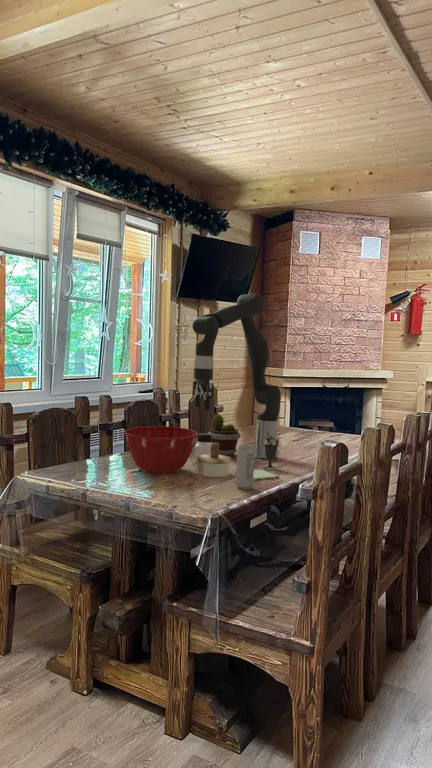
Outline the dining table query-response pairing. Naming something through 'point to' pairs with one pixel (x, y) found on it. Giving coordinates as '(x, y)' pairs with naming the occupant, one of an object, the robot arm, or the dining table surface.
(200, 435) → the medicine bottle
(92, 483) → the dining table surface
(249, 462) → the energy drink can
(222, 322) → the robot arm
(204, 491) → the dining table surface
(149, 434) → the mixing bowl
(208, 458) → the lid
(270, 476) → the mat
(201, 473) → the bowl
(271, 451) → the sundae
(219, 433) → the flowerpot
